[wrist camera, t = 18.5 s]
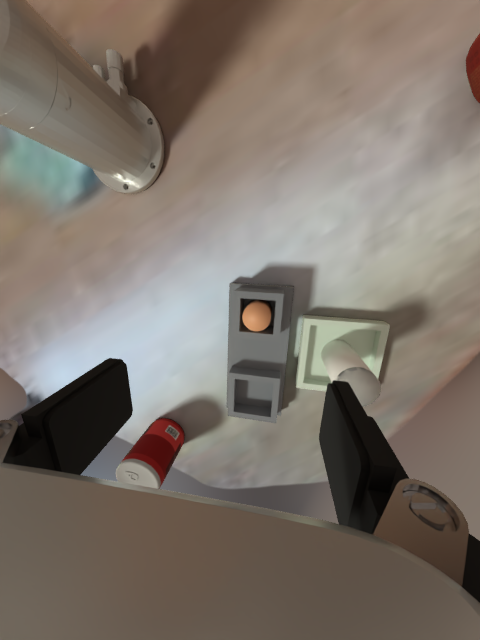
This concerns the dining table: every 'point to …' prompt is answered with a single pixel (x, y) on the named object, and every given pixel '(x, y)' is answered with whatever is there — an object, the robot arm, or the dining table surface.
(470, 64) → the snack package
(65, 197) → the dining table surface
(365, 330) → the tray
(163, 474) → the canned food
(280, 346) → the housing
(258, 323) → the tan rounded piece
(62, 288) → the dining table surface
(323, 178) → the dining table surface
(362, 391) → the cylinder
